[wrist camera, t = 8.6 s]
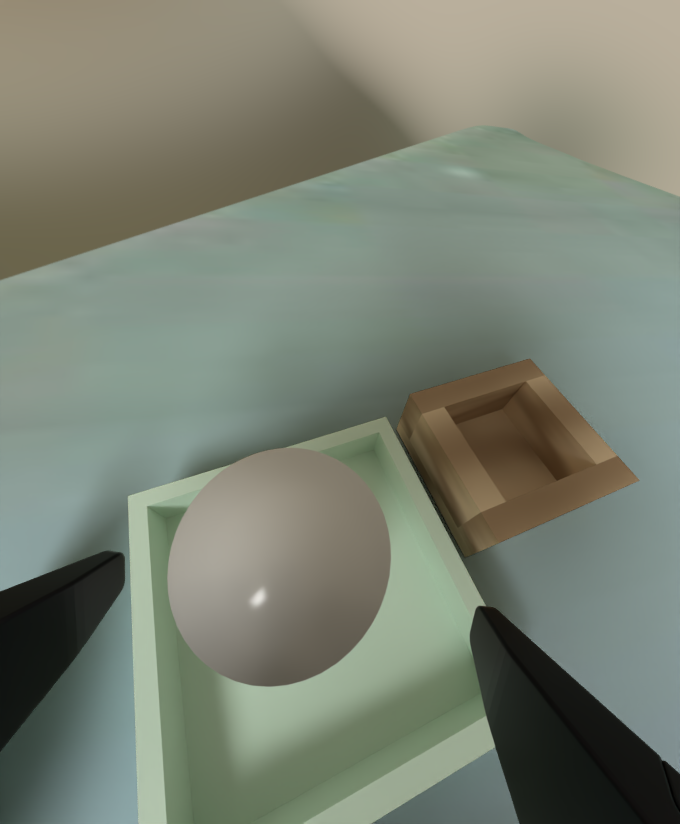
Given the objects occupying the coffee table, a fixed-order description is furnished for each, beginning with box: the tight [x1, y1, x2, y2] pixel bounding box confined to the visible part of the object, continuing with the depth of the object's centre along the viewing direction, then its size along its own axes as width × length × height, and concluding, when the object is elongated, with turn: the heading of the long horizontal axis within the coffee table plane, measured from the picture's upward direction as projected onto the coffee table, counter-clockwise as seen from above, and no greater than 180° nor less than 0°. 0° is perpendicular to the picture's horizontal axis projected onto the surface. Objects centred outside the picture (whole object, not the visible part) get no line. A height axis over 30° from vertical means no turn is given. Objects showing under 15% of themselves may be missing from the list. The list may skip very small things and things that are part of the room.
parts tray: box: [128, 417, 495, 824], centre depth 15 cm, size 14×14×3 cm
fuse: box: [167, 448, 391, 687], centre depth 11 cm, size 4×4×11 cm
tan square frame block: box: [396, 359, 639, 558], centre depth 19 cm, size 8×8×4 cm
